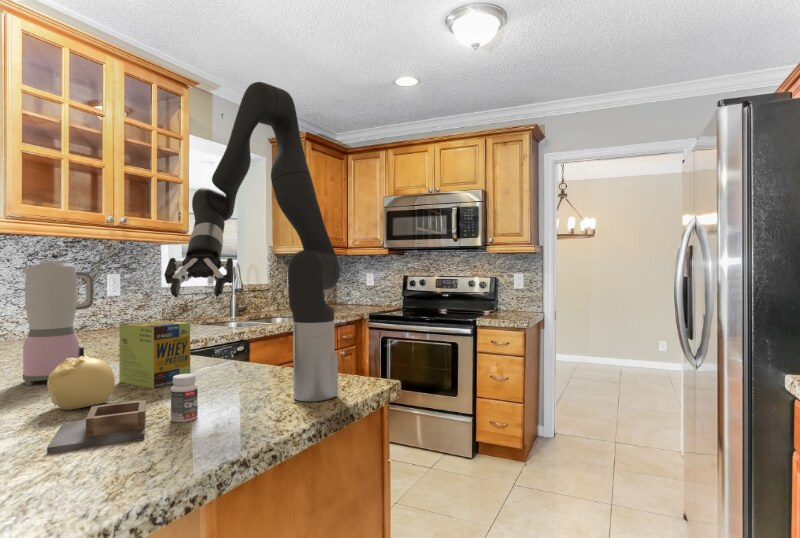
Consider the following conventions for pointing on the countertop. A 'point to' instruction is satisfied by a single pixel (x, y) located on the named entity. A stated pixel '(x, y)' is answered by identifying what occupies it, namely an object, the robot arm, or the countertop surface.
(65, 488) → the countertop surface
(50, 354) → the blender
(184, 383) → the pill bottle
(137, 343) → the protein box
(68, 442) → the socket dock
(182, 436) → the countertop surface
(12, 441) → the countertop surface
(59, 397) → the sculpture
